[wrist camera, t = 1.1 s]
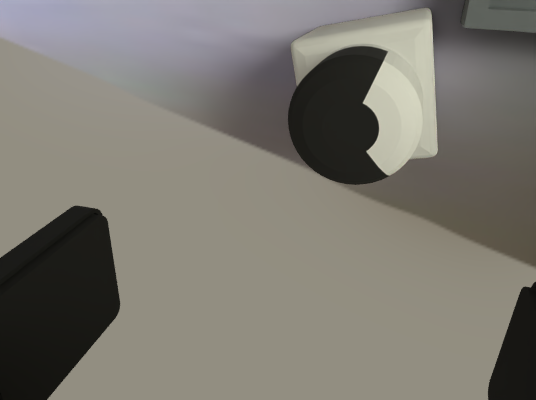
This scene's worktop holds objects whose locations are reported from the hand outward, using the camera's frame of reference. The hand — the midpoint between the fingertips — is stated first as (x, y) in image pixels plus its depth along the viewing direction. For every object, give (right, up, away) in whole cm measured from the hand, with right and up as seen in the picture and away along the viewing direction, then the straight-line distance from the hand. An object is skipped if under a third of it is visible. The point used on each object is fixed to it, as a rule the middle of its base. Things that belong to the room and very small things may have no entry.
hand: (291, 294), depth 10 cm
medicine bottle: (+7, +11, +20) cm, 24 cm away
